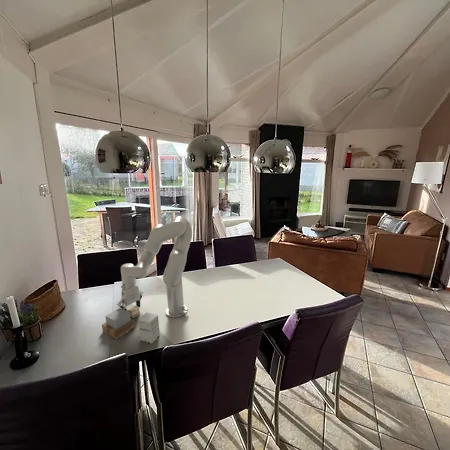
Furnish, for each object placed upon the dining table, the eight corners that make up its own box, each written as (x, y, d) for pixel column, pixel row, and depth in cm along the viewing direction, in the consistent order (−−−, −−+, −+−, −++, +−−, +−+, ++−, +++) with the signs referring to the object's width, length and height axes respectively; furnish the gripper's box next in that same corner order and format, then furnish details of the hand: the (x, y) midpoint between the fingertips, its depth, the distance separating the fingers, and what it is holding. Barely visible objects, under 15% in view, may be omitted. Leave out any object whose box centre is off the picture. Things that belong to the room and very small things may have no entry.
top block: (130, 320, 144) (129, 312, 142) (116, 329, 136) (115, 321, 135) (120, 315, 148) (119, 308, 147) (106, 324, 141) (105, 315, 140)
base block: (135, 328, 145) (134, 320, 144) (116, 340, 135) (115, 332, 134) (122, 321, 152) (120, 313, 150) (103, 332, 142) (101, 324, 141)
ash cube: (139, 314, 157) (139, 307, 156) (133, 319, 153) (132, 311, 152) (134, 312, 160) (133, 305, 158) (127, 316, 156) (126, 309, 154)
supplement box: (140, 341, 134) (137, 319, 130) (149, 332, 140) (146, 311, 137) (152, 344, 131) (149, 322, 128) (160, 335, 138) (158, 314, 135)
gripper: (120, 292, 142) (123, 319, 146) (145, 280, 156) (147, 305, 160) (112, 288, 146) (115, 315, 150) (137, 277, 160) (139, 302, 164)
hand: (131, 310), depth 155 cm, fingers open, 9 cm apart
